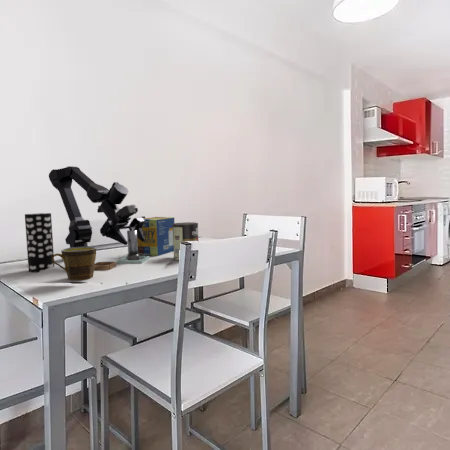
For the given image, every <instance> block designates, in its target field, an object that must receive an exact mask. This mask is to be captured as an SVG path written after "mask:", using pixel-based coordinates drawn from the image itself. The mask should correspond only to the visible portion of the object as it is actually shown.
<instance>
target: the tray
mask: <svg viewBox="0 0 450 450" xmlns="http://www.w3.org/2000/svg"><path fill="white" fill-rule="evenodd" d="M149 260H150V256H149V255H139V260H127V255H125V256H124V257H122V258H119V259H117V260H116V264H143V263H145V262H147V261H149Z"/></svg>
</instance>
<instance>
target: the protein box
mask: <svg viewBox="0 0 450 450" xmlns="http://www.w3.org/2000/svg"><path fill="white" fill-rule="evenodd" d="M143 219H144V221H145V223H144V224H143V226H142V232H143V235H144V238H145V241H144V242H142V241H141V240H140V239H138V238H137V242H138V254H139V256H152V257H155V256H156V257H158V256H162V255H166V254H168V253H172V252H173V253H174V247H173V226H172V224H174V223H175V217H173V216H172V217H171V216H168V217H167V216H152V217H147V218H145V217H144V218H143Z"/></svg>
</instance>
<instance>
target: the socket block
mask: <svg viewBox="0 0 450 450" xmlns="http://www.w3.org/2000/svg"><path fill="white" fill-rule="evenodd" d="M116 267H117V261H98V262H95V265H94V271H109V270H112V269H115V268H116Z"/></svg>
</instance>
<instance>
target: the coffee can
mask: <svg viewBox="0 0 450 450" xmlns="http://www.w3.org/2000/svg"><path fill="white" fill-rule="evenodd" d="M172 226H173V247H174V251H173V259H174V260H176V261H180V260H179V250H180V243H181V242H185V241H198V242H199V223H198V222H189V221H188V222H174V224H172Z"/></svg>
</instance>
